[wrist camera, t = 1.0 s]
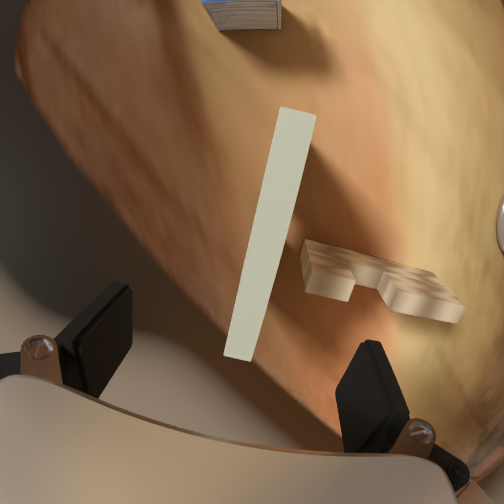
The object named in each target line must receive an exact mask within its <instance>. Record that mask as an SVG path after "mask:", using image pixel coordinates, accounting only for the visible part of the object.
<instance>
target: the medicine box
mask: <svg viewBox="0 0 504 504" xmlns="http://www.w3.org/2000/svg"><path fill="white" fill-rule="evenodd" d="M201 4H202V6H203V7H204V9H205V10H206V12H207V14H208V15H209V17H210V18H211V20H212V22H213V23H214V25H215V27H216V28H217V30H218V31H219V30H238V29H278V30H281V12H282V5H281V0H201Z"/></svg>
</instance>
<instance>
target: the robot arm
mask: <svg viewBox="0 0 504 504" xmlns="http://www.w3.org/2000/svg"><path fill="white" fill-rule="evenodd" d="M497 239H498V243H499V246H500V248H501V250H502V251H503V252H504V198H503V200H502V202H501V205H500V208H499V212H498V217H497ZM131 345H132V289H129V285H128V284H125V283H122V282H119V281H114V282H113V283H111V284H110V285H109V286H108V287H107V288H106V289H105V290H104V291H103V292H102V293H101V294H100V295H99V296H98V297H96V298H95V299H94V300H93V301H92V302H91V303H90V304H89V305H88V306H87V307H85V308H84V309H83V310H82V311H81V312H80V313H79V314H78V315H77V316H76V317H75V318H74V319H73V320H72V321H71V322H70V323H69V324H68V325H67V326H66V327H65V328H64V329H63V330H62V331H61V332H60V333H59V334H58V335H57V336H56V337H55V338H54V339H52V338H50V337H49V336H45V335H35V336H32V337H30V338H27V339H26V340H25V341H24V342H23V344H22V346H21V351H20V352H12V353H5V354H0V504H495V503H494V502H493V501H492V500H491V499H490V498H489V497H488V496H487V495H486V493H485V492H483V490H482V489H481V488H480V487H479V486H478V485H477V484H476V483H475V482H474V481H473V480H472V481H471V482H470V481H469V478H470V472H469V469H468V467H467V466H466V464H465V463H464V462H462V461H461V460H459V459H458V458H456V457H455V456H453V455H452V454H450V453H448V452H447V451H445V450H444V449H442V448H441V447H439V446H438V445H436V444H435V440H436V433H435V430H434V428H433V427H432V426H431V425H430V424H429V423H428V422H427V421H425V420H423V419H419V418H414V419H411V420H410V417H409V414H410V412H409V409H408V407H407V404H406V402H405V399H404V396H403V394H402V391H401V389H400V387H399V384H398V382H397V379H396V377H395V374H394V372H393V370H392V367H391V365H390V363H389V360H388V358H387V356H386V353H385V351H384V349H383V347H382V344H381V343H380V342H379V341H374V340H366V341H365V342H362V343H361V344H360V345H359V347H358V349H357V351H356V353H355V355H354V357H353V359H352V361H351V362H350V364H349V366H348V368H347V370H346V372H345V373H344V375H343V377H342V379H341V381H340V382H339V384H338V386H337V388H336V391H335V396H336V402H337V408H338V414H339V420H340V426H341V432H342V439H343V445H344V452H345V453H339V452H320V451H307V450H295V449H286V448H279V447H271V446H264V445H258V444H251V443H246V442H240V441H235V440H230V439H225V438H220V437H216V436H211V435H207V434H203V433H199V432H195V431H191V430H187V429H184V428H180V427H177V426H173V425H170V424H166V423H163V422H160V421H157V420H154V419H151V418H148V417H144V416H142V415H139V414H136V413H133V412H130V411H128V410H125V409H123V408H120V407H117V406H115V405H112V404H110V403H107V402H105V401H102V400H100V399H98V398H99V396H100V394H101V393H102V392H103V390H104V389H105V387H106V385H107V384H108V382H109V381H110V379H111V378H112V376H113V374H114V373H115V371H116V370H117V368H118V366H119V365H120V364H121V362H122V360H123V359H124V357H125V356H126V354H127V353H128V351H129V350H130V348H131Z"/></svg>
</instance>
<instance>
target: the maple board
mask: <svg viewBox="0 0 504 504" xmlns="http://www.w3.org/2000/svg"><path fill="white" fill-rule="evenodd" d="M300 261H301V267H302V273H303V280H304V286H305V293H309V294H314V295H318V296H323V297H327V298H332V299H337V300H341V301H346V302H348V300H349V298H350V295H351V293H352V290H353V287H354V285H355V284H356V285H361V286H365V287H369V288H374V289H377V290H378V292H379V294H380V295H381V297H382V299H383V300H384V302H385V304H386V305H387V307H388V309H389V311H394V312H399V313H404V314H409V315H414V316H419V317H424V318H430V319H435V320H440V321H446V322H451V323H458V321H459V319H460V317H461V316H462V314H463V312H464V310H465V308H466V306H465V305H464V304H463V303H462V302H461V301H460V300H459V299H458V298H457V296H456V295H455V294H454V293H453V292H452V291H451V290H450V289H449V288H448V287H447V286H446V285H445V284H444V283H443V282H442V281H441V280H440V279H439V278H438V277H437V276H436V275H435V274H434V273H432V272H428V271H425V270H421V269H418V268H414V267H411V266H407V265H403V264H400V263H396V262H392V261H389V260H385V259H381V258H378V257H374V256H370V255H366V254H363V253H359V252H355V251H351V250H347V249H344V248H340V247H336V246H332V245H328V244H324V243H320V242H316V241H312V240H308V239H305V240H304V243H303V247H302V250H301V254H300Z"/></svg>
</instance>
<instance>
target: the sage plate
mask: <svg viewBox="0 0 504 504" xmlns="http://www.w3.org/2000/svg"><path fill="white" fill-rule="evenodd" d="M316 117H317V115H313V114H309V113H305V112H302V111H298V110H293V109H289V108H285V107H281V106H280V111H279V115H278V119H277V123H276V128H275V132H274V136H273V140H272V145H271V149H270V153H269V158H268V162H267V166H266V171H265V175H264V179H263V184H262V188H261V192H260V197H259V201H258V205H257V210H256V214H255V218H254V223H253V227H252V231H251V236H250V240H249V245H248V249H247V253H246V258H245V262H244V266H243V271H242V275H241V280H240V284H239V289H238V293H237V297H236V302H235V306H234V311H233V315H232V320H231V324H230V329H229V333H228V337H227V342H226V347H225V351H224V356H229V357H232V358H237V359H241V360H245V361H251V359H252V355H253V352H254V349H255V346H256V342H257V339H258V335H259V332H260V329H261V325H262V322H263V318H264V315H265V312H266V308H267V305H268V301H269V298H270V294H271V291H272V287H273V284H274V280H275V276H276V273H277V269H278V266H279V262H280V258H281V255H282V251H283V247H284V244H285V240H286V236H287V232H288V229H289V225H290V221H291V217H292V214H293V210H294V206H295V202H296V198H297V194H298V190H299V186H300V182H301V178H302V175H303V171H304V166H305V162H306V158H307V154H308V150H309V146H310V142H311V138H312V134H313V129H314V125H315V121H316Z"/></svg>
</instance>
